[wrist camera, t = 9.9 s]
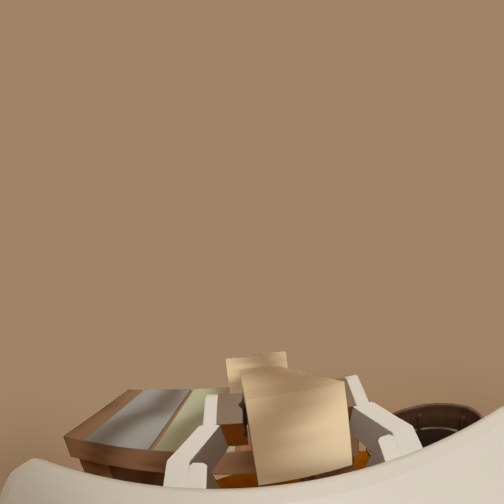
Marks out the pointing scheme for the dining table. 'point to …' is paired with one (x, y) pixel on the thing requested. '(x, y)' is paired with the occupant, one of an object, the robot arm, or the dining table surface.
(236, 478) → the dining table surface
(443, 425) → the plant pot
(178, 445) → the shelf
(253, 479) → the dining table surface
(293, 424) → the marker stick
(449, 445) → the robot arm
